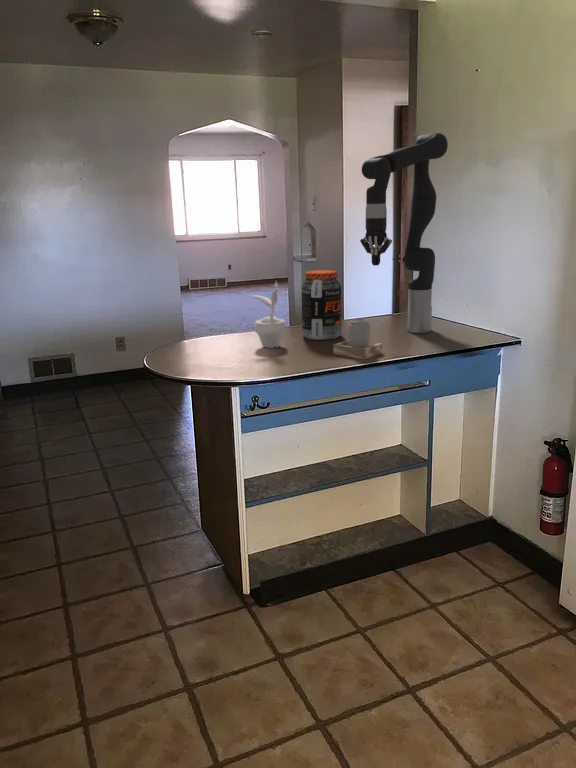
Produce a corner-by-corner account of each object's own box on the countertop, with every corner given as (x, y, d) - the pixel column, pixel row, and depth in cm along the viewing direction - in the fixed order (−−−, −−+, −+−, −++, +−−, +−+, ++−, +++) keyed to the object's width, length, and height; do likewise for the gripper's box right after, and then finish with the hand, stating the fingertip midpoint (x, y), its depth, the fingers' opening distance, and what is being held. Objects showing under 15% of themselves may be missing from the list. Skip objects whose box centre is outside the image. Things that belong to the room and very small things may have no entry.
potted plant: (291, 344, 243) (289, 278, 236) (278, 351, 233) (275, 283, 226) (262, 341, 248) (259, 277, 241) (248, 348, 238) (244, 282, 231)
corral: (351, 347, 234) (351, 338, 233) (381, 353, 225) (382, 343, 224) (333, 354, 226) (333, 344, 225) (364, 359, 217) (364, 349, 216)
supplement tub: (331, 342, 243) (329, 274, 236) (295, 339, 251) (293, 273, 243) (348, 333, 256) (347, 269, 249) (313, 330, 264) (312, 268, 256)
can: (368, 355, 222) (368, 322, 218) (346, 355, 224) (346, 321, 220) (370, 350, 229) (371, 318, 225) (350, 350, 231) (350, 317, 227)
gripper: (397, 216, 226) (396, 265, 231) (367, 216, 235) (367, 263, 240) (385, 217, 221) (385, 267, 226) (355, 217, 230) (355, 265, 235)
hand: (375, 265), depth 233 cm, fingers closed
